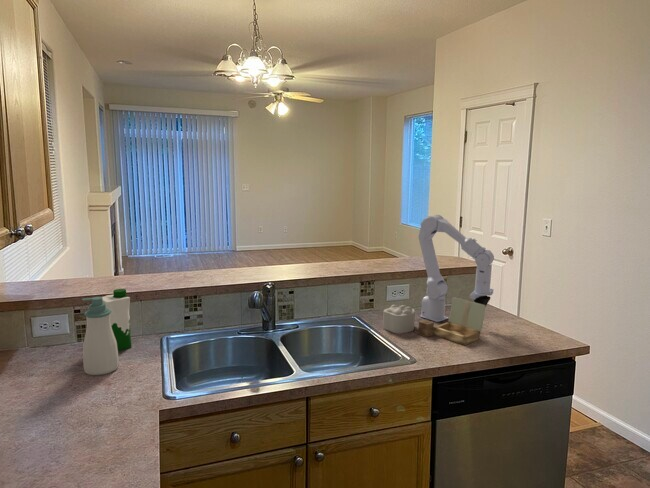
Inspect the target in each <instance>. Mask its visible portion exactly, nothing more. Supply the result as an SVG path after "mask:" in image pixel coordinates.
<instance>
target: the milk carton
mask: <svg viewBox="0 0 650 488" xmlns="http://www.w3.org/2000/svg"><path fill="white" fill-rule="evenodd" d="M112 293H113V294H108V295H105V296H101V297H102V298H103V303H105V304H106V308H108V309H110V310H111V313H110V322H111V327H112V330H113V333H114V336H115V339H116V342H117V348H118V352H119V351H123V350H127V349H131V348H132V335H131V333H132V332H131V320H130V319H131V317H130V306H131V303H130V302H131V297H130V296H128V295H127V289H126V288H125V289H124V288H117V289H114V290H113V291H112Z"/></svg>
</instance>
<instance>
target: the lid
mask: <svg viewBox="0 0 650 488" xmlns="http://www.w3.org/2000/svg"><path fill="white" fill-rule="evenodd" d="M486 307H487V305H483V304H479V303H475V302H474V301H471V300H467V299H463V298H459V297H455V296H452V300H451V305H450V311H449V316H448V322H451V323H454V324H457V325H461V326H464V327H467V328H470V329H474V330H477V331H480V332H482V331H483V323H484V319H485V313H486Z"/></svg>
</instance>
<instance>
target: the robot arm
mask: <svg viewBox="0 0 650 488" xmlns="http://www.w3.org/2000/svg"><path fill="white" fill-rule="evenodd" d="M436 233H444V234H447V236H449V237H451V238H452V239H453V240H455V241H456V242H457V243H458V244H460V248H461V250H462V251H463V252H465V254H467V255H469V256H470V257H471V258H472V260H474V262H475V264H476V269H475V280H474V290H473V291H472V292H471V293H470V294H469V299H470V300H473V302H475V303H479V304H483V305H486V306H487V304H488V303H489V302H490V300H491V296H493V294H494V288H491V279H492V266H493V265H492V264H493V262H494V259H495V255H494V253H493V252H492V251H491V250H489V249H486V247H485V246H484V247H483V246H482V245H480V243H478V242H477V241H478V240H476V238H472V237H468V238H467V237H466V236H465V235H464V234H463V233H461V232H460V231H459V230H458V229H457V228H456V227H454V225H452V223H450V222H449V220H448V219H446V218H444V217H443V216H442V215H440V214H435V215H431V216H426V217H424V218H423V220H421V222H420V229H419V233H418V237H417V238H418V242H419V245H420V249H421V255H422V257H423V262H424V267H425V270H426V275H427V280H426V291H425V292H426V295H425V296H424V297H422V300H421V306H420V307H421V309H420V315H419V317H420V318H424V319H425V320H428V321H431V322H436V323H440V322H442V321H445V320H449V316H445V315H446V314H445V312H446V294H447V293H448V292H449V286H448V285H447V283H446V281H445V278H444V277H443V276H442V274H441V271H440V267H439V262H438V259H437V254H436V250H435V247H434V242H433V238H434V236H435V235H436Z"/></svg>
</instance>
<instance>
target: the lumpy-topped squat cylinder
mask: <svg viewBox="0 0 650 488" xmlns="http://www.w3.org/2000/svg"><path fill="white" fill-rule="evenodd" d="M382 315H383V317H382V329H383V330H386V331H389V332H391V333H392V334H393V333H394V334H405V333H409V332H411V331H413V330H414V329H415V317H416V310H415V308H412V307H411V306H407V305H405V304H402V305H397V304H392V305H390V307H388V308H385V309H383V312H382Z"/></svg>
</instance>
